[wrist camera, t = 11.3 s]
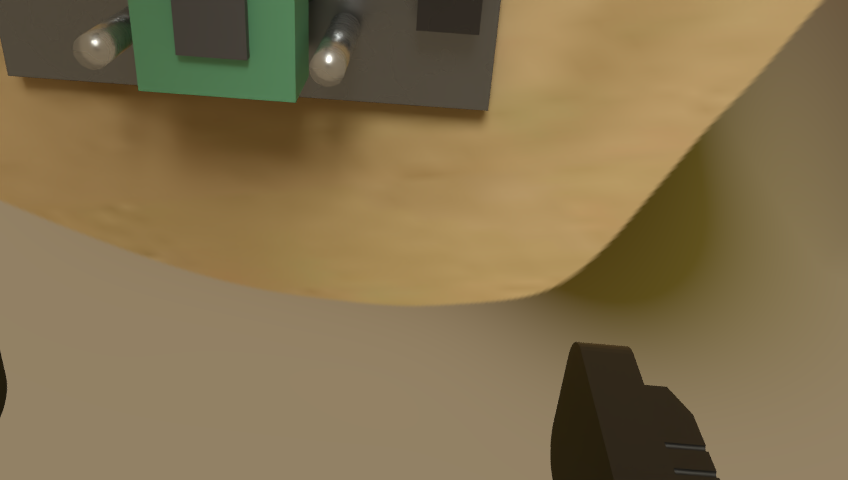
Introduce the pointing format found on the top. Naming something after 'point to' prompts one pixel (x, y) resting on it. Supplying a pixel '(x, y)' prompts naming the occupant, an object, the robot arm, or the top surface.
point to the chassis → (328, 47)
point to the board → (222, 47)
